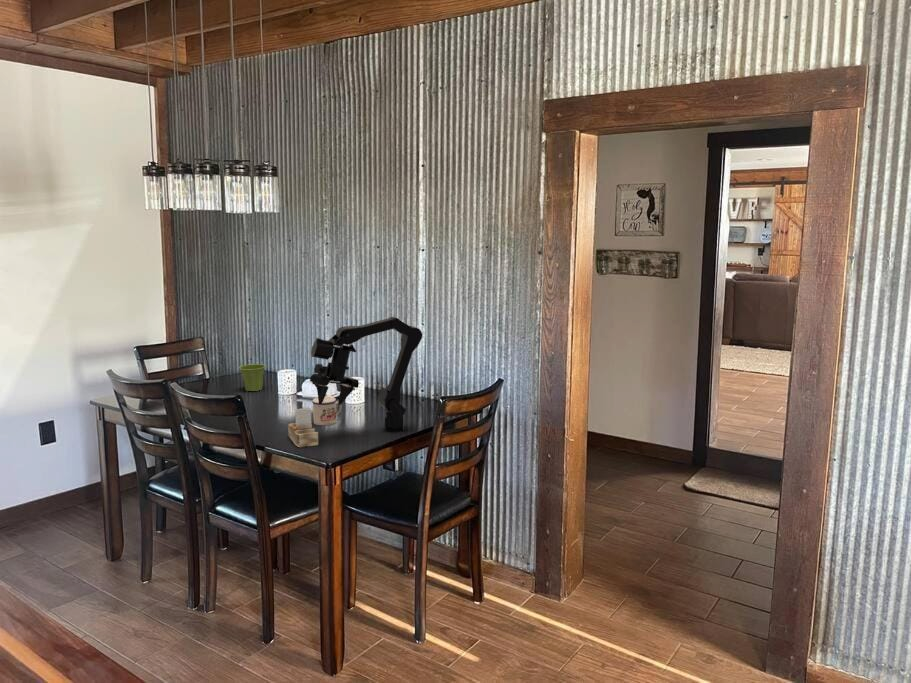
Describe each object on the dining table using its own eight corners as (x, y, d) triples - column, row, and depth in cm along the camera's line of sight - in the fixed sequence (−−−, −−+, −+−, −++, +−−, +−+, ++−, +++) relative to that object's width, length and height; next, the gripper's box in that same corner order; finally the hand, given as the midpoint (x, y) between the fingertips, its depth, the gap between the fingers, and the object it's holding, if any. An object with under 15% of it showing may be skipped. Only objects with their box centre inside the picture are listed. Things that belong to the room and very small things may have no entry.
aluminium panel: (310, 434, 258) (309, 407, 257) (311, 436, 256) (310, 409, 254) (296, 436, 256) (295, 409, 255) (297, 438, 254) (296, 410, 252)
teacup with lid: (321, 427, 273) (319, 397, 271) (308, 422, 279) (307, 393, 277) (347, 421, 281) (346, 392, 279) (335, 416, 287) (334, 388, 285)
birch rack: (308, 433, 264) (308, 419, 264) (318, 445, 251) (317, 430, 250) (288, 436, 262) (287, 421, 261) (297, 447, 248) (296, 432, 247)
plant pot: (240, 388, 337) (238, 365, 335) (266, 386, 341) (265, 363, 339) (240, 394, 326) (239, 369, 324) (267, 392, 330) (266, 368, 328)
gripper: (343, 358, 270) (334, 399, 270) (305, 354, 255) (295, 397, 256) (364, 365, 263) (354, 407, 264) (325, 361, 248) (315, 405, 249)
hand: (329, 404), depth 258 cm, fingers open, 9 cm apart
